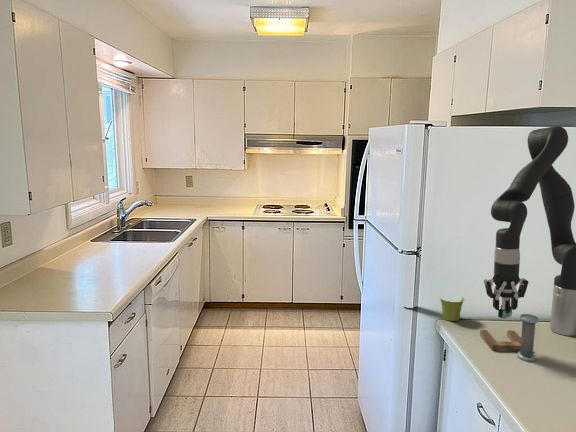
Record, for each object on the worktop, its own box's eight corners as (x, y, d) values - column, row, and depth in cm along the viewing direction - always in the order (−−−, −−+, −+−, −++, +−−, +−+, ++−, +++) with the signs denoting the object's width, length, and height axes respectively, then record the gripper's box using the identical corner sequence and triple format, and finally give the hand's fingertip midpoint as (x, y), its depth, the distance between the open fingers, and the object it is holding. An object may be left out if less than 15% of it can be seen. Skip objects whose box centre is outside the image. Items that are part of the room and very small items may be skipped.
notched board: (513, 335, 157) (514, 330, 157) (529, 351, 145) (529, 345, 145) (479, 335, 158) (479, 329, 158) (492, 350, 146) (492, 345, 146)
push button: (504, 311, 151) (505, 283, 149) (519, 315, 147) (521, 287, 145) (493, 316, 148) (494, 288, 146) (508, 321, 143) (509, 292, 141)
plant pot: (434, 318, 173) (435, 298, 172) (444, 312, 180) (445, 292, 178) (457, 325, 167) (458, 303, 165) (467, 318, 173) (468, 297, 172)
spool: (530, 354, 143) (533, 314, 141) (537, 361, 138) (541, 320, 136) (514, 354, 144) (517, 313, 141) (521, 361, 139) (524, 320, 136)
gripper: (523, 256, 147) (521, 304, 150) (480, 258, 148) (478, 305, 151) (534, 262, 140) (532, 313, 143) (489, 264, 140) (487, 314, 143)
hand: (504, 308), depth 147 cm, fingers closed on push button, 5 cm apart
